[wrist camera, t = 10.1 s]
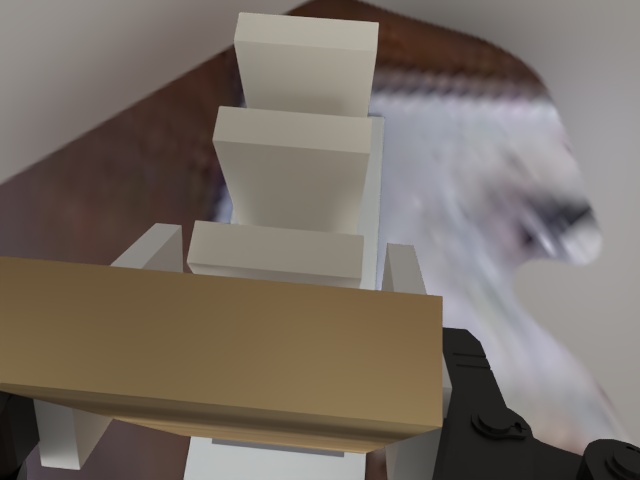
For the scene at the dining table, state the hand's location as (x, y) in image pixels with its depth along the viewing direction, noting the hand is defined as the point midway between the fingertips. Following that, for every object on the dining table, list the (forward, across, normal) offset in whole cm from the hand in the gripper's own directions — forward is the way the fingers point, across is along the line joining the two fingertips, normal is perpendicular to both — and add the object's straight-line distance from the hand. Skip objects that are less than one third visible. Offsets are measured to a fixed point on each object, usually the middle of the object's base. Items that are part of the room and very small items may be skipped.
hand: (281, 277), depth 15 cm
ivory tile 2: (+15, -1, -5) cm, 16 cm away
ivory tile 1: (+11, -1, -9) cm, 14 cm away
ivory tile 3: (+18, -1, -2) cm, 18 cm away
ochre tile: (0, 0, -5) cm, 5 cm away
